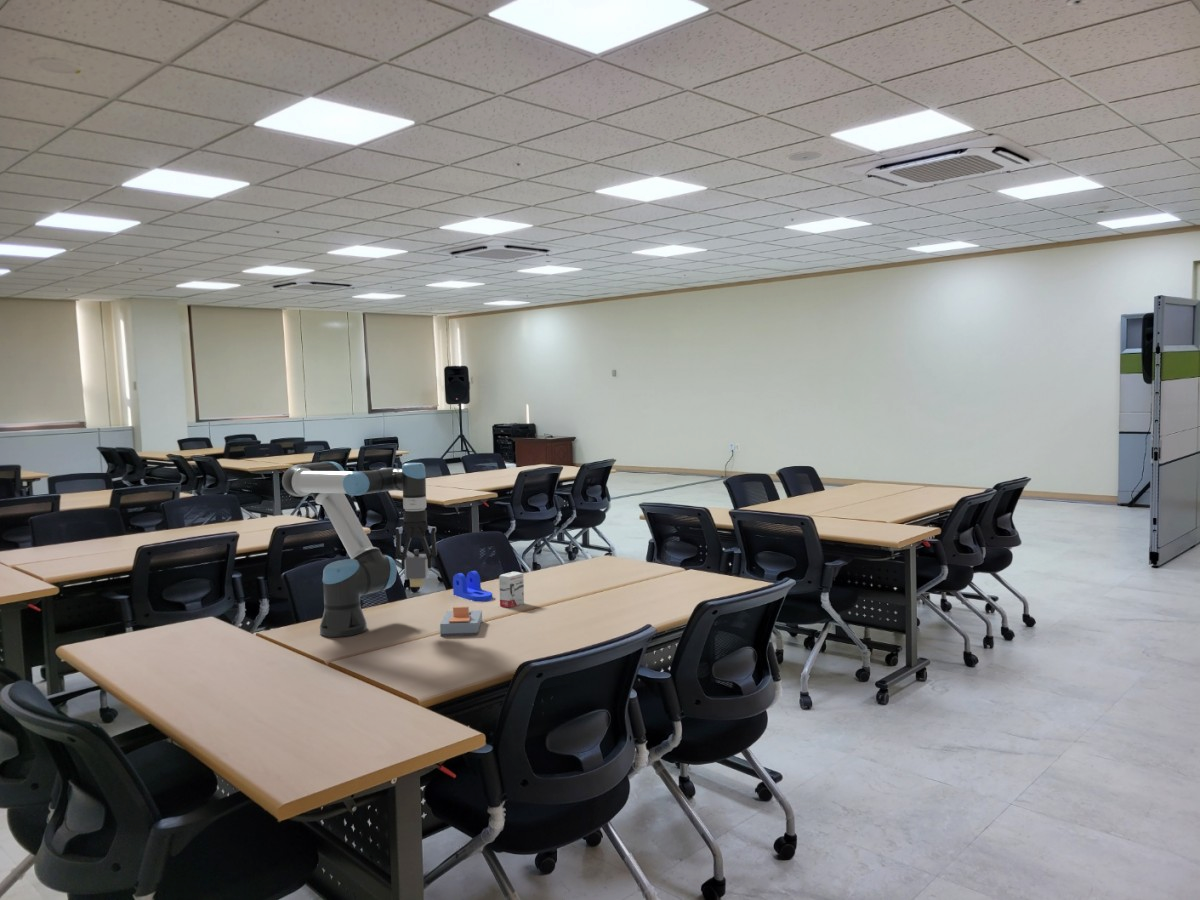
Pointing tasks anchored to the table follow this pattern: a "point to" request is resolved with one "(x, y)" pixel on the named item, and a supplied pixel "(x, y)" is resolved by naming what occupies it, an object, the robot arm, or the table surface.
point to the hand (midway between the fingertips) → (417, 578)
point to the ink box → (511, 589)
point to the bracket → (470, 587)
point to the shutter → (460, 614)
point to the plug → (415, 568)
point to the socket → (461, 625)
